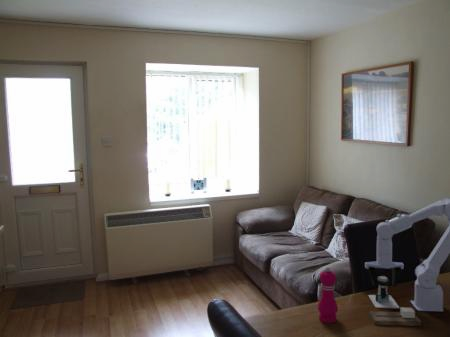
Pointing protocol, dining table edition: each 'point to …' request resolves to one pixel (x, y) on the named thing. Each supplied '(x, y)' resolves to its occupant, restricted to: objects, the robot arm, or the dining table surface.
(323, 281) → the pepper mill
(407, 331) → the dining table surface
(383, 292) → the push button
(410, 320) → the switch board
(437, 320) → the dining table surface
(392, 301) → the parts mat
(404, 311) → the switch tab
